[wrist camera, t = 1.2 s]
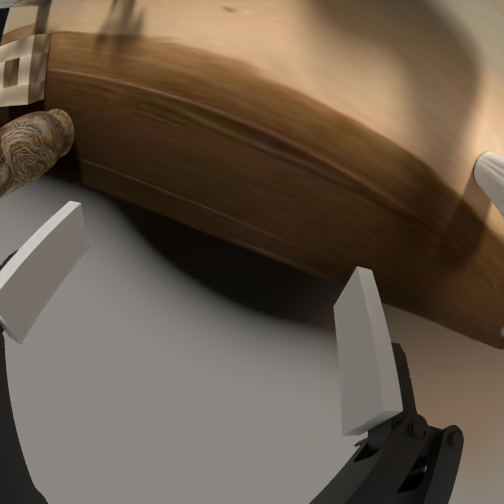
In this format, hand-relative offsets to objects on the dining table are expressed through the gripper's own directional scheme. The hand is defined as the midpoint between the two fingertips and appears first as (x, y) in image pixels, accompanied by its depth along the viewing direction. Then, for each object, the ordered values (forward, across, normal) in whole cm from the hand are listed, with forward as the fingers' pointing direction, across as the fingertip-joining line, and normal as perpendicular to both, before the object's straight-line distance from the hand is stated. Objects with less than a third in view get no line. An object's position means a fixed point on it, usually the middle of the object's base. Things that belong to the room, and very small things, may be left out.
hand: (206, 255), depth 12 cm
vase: (+26, -33, -4) cm, 42 cm away
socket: (+26, -43, +9) cm, 51 cm away
